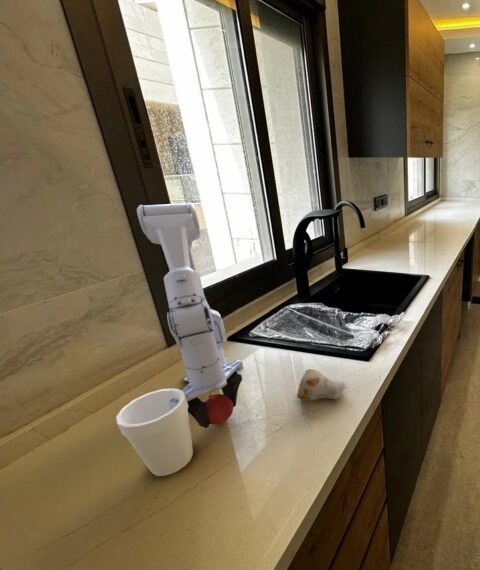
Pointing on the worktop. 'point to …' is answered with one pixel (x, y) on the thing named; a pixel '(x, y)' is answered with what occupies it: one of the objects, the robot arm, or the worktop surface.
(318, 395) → the white spotted tapered part
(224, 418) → the red round piece
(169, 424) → the foam cup
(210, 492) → the worktop surface
